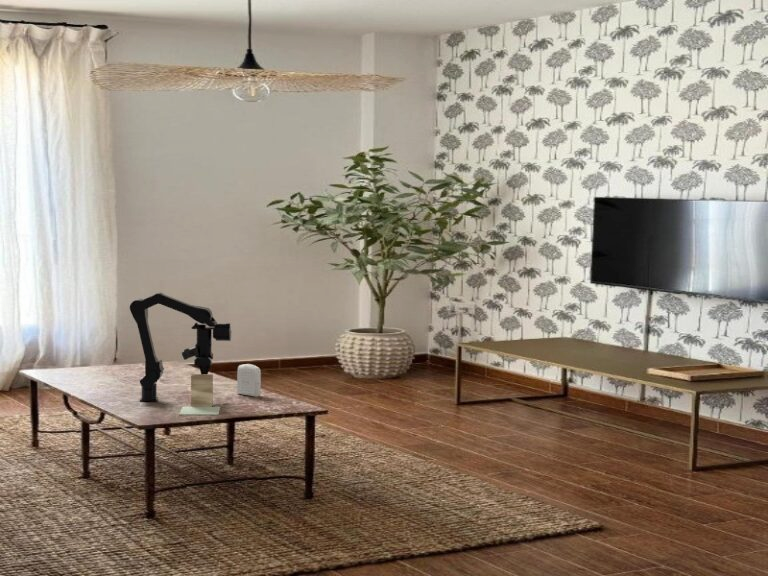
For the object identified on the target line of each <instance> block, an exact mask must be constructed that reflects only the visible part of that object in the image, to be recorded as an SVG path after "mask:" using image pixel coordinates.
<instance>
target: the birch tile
mask: <svg viewBox="0 0 768 576" xmlns="http://www.w3.org/2000/svg"><path fill="white" fill-rule="evenodd" d="M212 406H213V407H214V374H213V373H211V374H209V373H208V374H201V373H198V374H197V373H196V374H195V373H191V375H190V407H212Z"/></svg>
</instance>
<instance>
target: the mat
mask: <svg viewBox="0 0 768 576" xmlns="http://www.w3.org/2000/svg"><path fill="white" fill-rule="evenodd" d="M220 411H221V406H213V407H191V406H182V407H181V409H180V412H179V416H219V413H220Z"/></svg>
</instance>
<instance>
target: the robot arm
mask: <svg viewBox="0 0 768 576" xmlns="http://www.w3.org/2000/svg"><path fill="white" fill-rule="evenodd" d="M158 304H159V305H162V306H164V307H167V308H170V309H172V310H175V311H177V312H180V313H181V314H185V315H187V316H188V317H190V318H191V319H192V320H194V321H196V322H195V323H194V325H192V326H191V329H192V330H196V342H195V345H194V346H192V347H187V348H184V349H183V350H182V351H181V356H182V358H183V360H184V361H185V360H188V359H190V358H193V357H195V359H194V361H193V363H194V364H193V365H194V366H195V367H196V366H197V367H198V368H199V371H200V374H209V372H210V369H211V368H212V367H211V366H212V364H213V361H212V360H214V353H213V351H212V346H213V343H212V341H213V340H212V338H213V339H215V341H216V342H217V341H219V342H220V341H221V342H231V340H232V328H231V323H229V322H225V323H218V322H217V321H216V319H215V318H214V316H213V311H212V309H210V308H208V307H206V306H200V305H194V304H190V303H187V302H185V301H182V300H179V299H177V298H174V297H172V296H169V295H166V294H164V293H162V292H156V293H155V294H154V295H151V296H149V297H146V298H144V299H143V298H138V299H135V300H132V302H131V303H130V304H129V311H130V313H131V315H132V318H133V319H134V321H135V323H136V325H137V329H138V334H139V338H140V342H141V345H142V351H143V355H144V360H145V361H144V363H145V364H144V370H145V371H144V373H145V375H144V376H143V377H142V378H141V379H139V384H140V386H141V396H140V399H139V402H158V399H159V397H158V395H157V393H158V392H157V387H158V386H157V385H158V384H157V383H158V381H159V380H160V379H161V378H162V376H164V375H163V374H164V370H165V367H164V366H163V359H160V360H159V359H158V357H157V355H156V350H155V347H154V341H153V337H152V334H151V330H150V325H149V308H151V307H154V306H156V305H158Z"/></svg>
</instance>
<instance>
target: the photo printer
mask: <svg viewBox="0 0 768 576" xmlns="http://www.w3.org/2000/svg"><path fill="white" fill-rule="evenodd" d="M236 379H237V381H236V382H237V383H236V384H237V385H236V393H237V394H239V395H245V396H251V397H254V398H257V397H259V396H261V385H262V384H261V379H262V372H261V368H260V367H258V366H256V365H255V364H251V363H246V364H244V363H243V364H239V365H238V366H237V378H236Z"/></svg>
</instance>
